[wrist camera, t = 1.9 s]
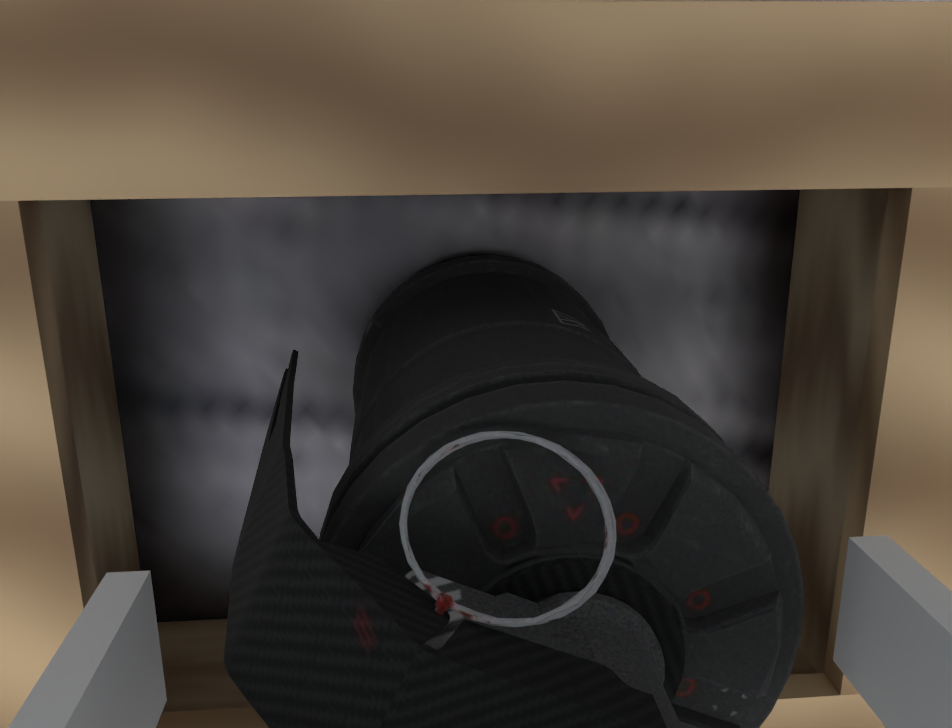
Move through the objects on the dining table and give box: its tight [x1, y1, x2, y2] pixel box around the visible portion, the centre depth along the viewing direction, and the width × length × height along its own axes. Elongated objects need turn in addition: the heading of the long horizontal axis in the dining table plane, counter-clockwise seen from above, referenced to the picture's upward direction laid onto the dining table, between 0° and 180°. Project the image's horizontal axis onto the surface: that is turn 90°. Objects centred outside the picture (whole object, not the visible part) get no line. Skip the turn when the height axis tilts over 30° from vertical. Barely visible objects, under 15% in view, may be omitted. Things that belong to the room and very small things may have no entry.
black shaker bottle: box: [224, 255, 804, 728], centre depth 21 cm, size 9×11×20 cm
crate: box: [0, 0, 952, 728], centre depth 26 cm, size 22×26×10 cm
